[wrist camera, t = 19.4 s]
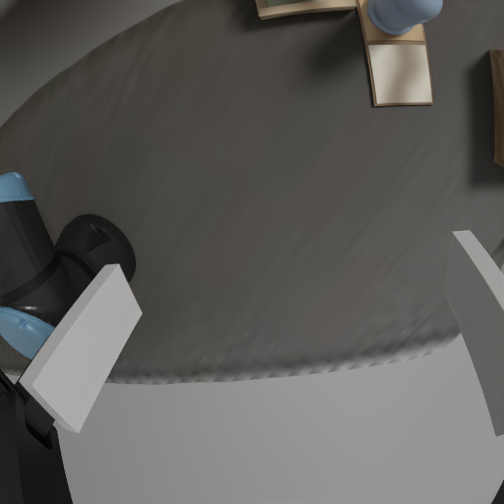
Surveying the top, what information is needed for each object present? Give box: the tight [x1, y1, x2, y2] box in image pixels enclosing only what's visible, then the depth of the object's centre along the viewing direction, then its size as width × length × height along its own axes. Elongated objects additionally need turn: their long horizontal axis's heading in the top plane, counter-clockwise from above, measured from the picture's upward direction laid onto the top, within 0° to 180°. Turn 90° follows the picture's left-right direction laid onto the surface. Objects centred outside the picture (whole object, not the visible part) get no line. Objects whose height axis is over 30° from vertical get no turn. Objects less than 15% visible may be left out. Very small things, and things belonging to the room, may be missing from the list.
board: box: [355, 0, 434, 106], centre depth 27 cm, size 8×24×1 cm, turn 12°
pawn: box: [367, 0, 443, 35], centre depth 22 cm, size 6×6×12 cm
